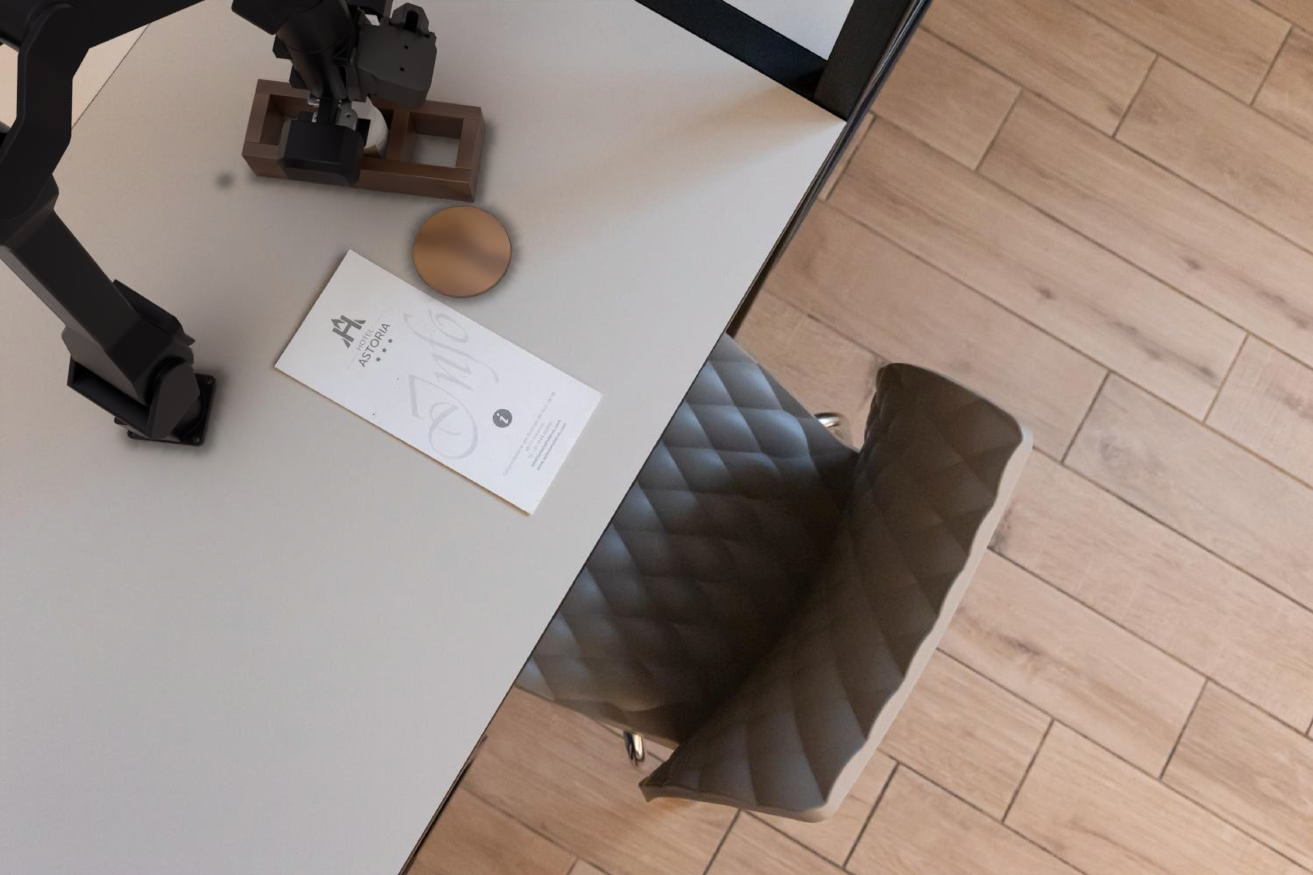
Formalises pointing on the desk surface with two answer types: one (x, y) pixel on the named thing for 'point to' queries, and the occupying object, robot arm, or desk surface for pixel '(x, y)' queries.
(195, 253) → the desk surface
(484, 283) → the coaster
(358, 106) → the pill bottle
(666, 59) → the desk surface
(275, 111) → the rack
